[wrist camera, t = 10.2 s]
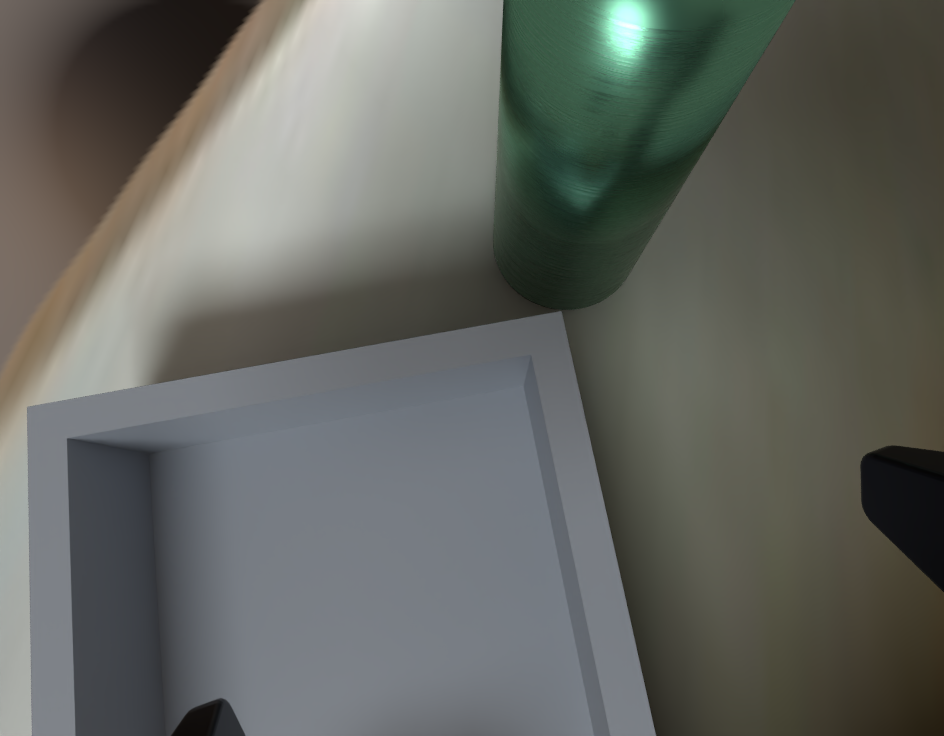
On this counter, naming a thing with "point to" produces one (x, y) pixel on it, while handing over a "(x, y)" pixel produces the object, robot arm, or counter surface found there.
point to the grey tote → (333, 549)
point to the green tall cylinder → (608, 128)
